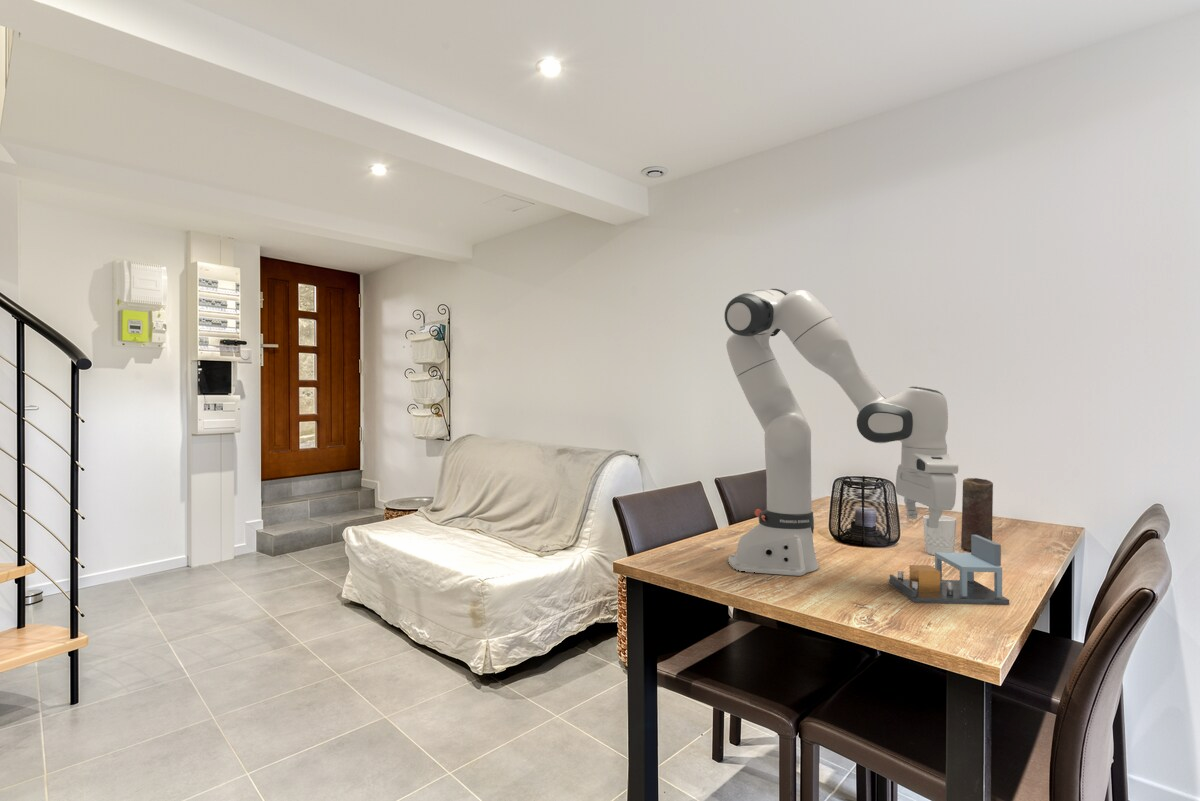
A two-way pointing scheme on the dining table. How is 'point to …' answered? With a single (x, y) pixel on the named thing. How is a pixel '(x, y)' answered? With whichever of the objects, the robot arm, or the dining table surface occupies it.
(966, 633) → the dining table surface
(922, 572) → the brown block
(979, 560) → the grey miniature chair
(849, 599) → the dining table surface
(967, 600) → the base plate
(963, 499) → the dark brown cylinder
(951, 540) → the white cup
